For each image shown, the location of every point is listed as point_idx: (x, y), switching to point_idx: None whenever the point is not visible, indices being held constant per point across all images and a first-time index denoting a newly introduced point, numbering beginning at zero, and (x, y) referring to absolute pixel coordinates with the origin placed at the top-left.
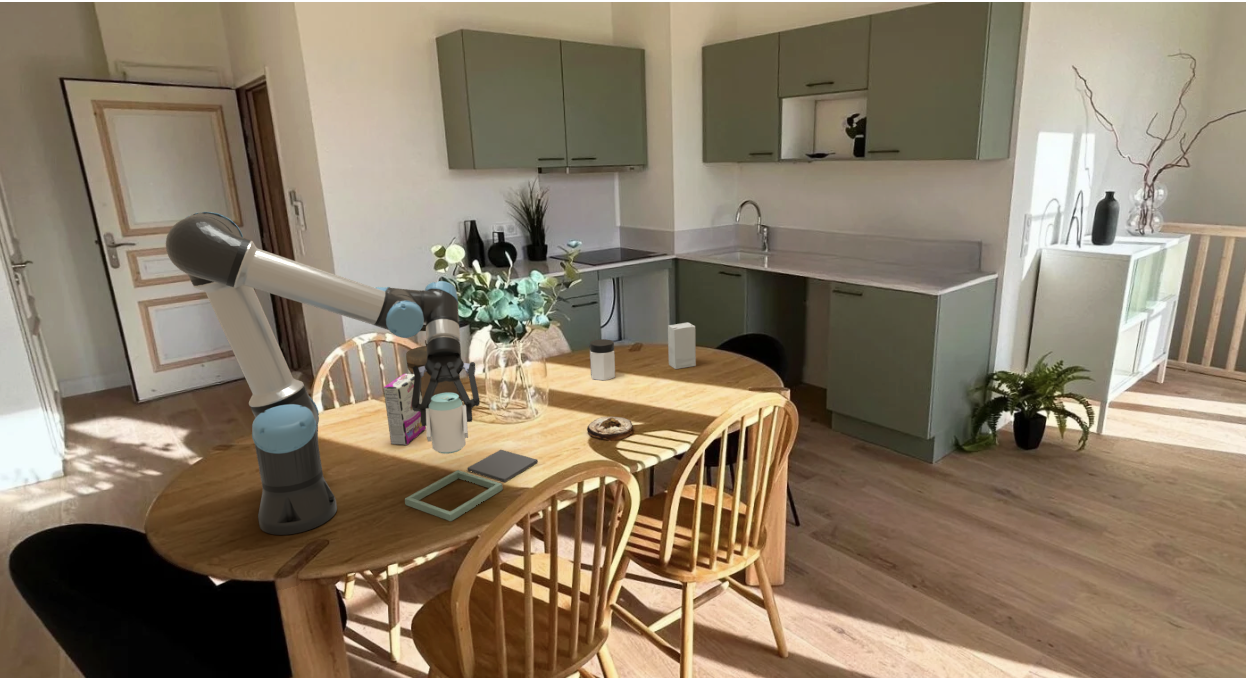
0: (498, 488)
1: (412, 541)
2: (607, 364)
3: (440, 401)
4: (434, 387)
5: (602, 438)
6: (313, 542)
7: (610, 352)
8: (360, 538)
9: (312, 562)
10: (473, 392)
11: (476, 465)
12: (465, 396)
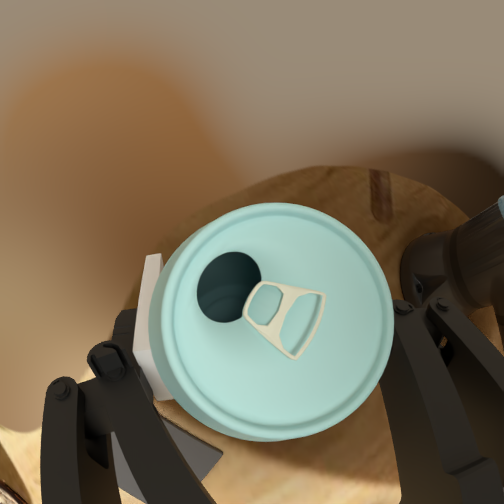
0: None
1: (261, 197)
2: None
3: (300, 211)
4: (418, 460)
5: (12, 491)
6: (389, 217)
7: None
8: (340, 216)
9: (366, 176)
10: (69, 440)
11: (204, 462)
12: (130, 414)
